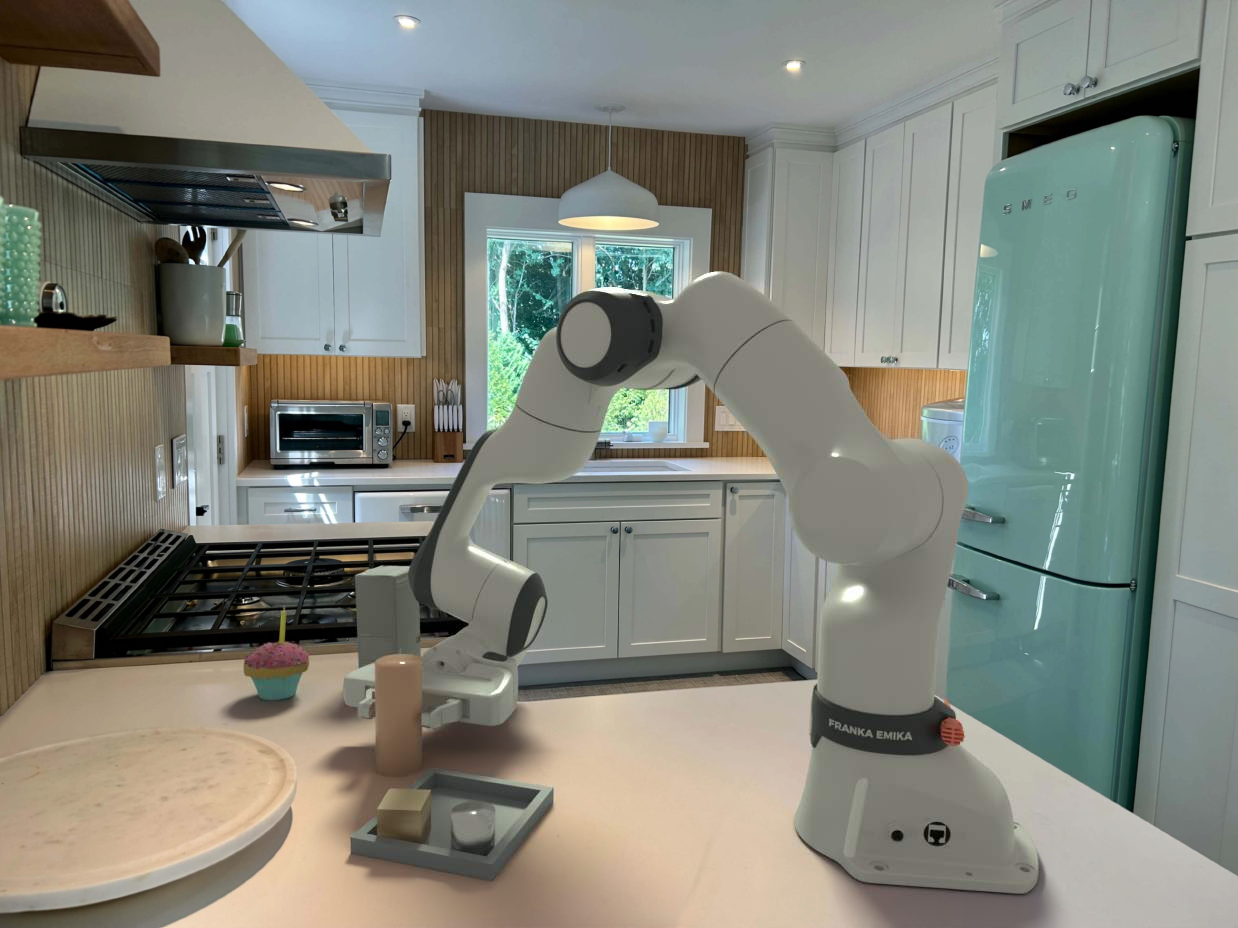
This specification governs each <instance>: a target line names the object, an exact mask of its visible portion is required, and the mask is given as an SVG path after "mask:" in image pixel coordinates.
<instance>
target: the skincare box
mask: <svg viewBox="0 0 1238 928" xmlns="http://www.w3.org/2000/svg"><path fill="white" fill-rule="evenodd" d="M409 567H410V565H409V566H408V565H407V566H406V565H403V566H401V565H400V566H399V565H380V566H377V567H374V568H368V569H366V570H365V571H362V572H361V573H357V574H355V575H354V581H355V582H354V583H355V586H354V587H355V605H356V606H355V609H356V631H357V632H356V634H357V656H358V658H357V660H358V669H359V668H361V667H364V666H366V665H369V664H371V663H375V661H376V660H377V659H379V658H381V657H384V656H388V655H394V654H411V655H416V656H419V657H420V658H421V656H422V652H421V651H422V650H421V649H422V648H421V629H420V627H421V624H420V623H421V620H420V618H421V617H420V616H421V615H420V603H419V602H417V600H416V598H415V596H414V594H413V592H412V589H411V587H410V583H409V579H408V571H409Z"/></svg>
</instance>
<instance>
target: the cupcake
mask: <svg viewBox="0 0 1238 928" xmlns="http://www.w3.org/2000/svg"><path fill="white" fill-rule="evenodd" d="M282 609H283V610H281V612H280V613H281V614H280V622H279V623H280V624H279V625H280V626H279V627H280V628H279V639H278V641H277V642H273V643H272V642H267V643H263V644H261V645H259V646H258V647H257V648H256V649H254V650H252V652H250V653H249V654H248V655H246V657H245V659H244V660H243V661H244V663H243V674H244V676H245V677H248V678H249V677H250V679H251V680H252V682H253V684H254V686H255V690H256V693H257V695H258V697H259V698H260V700H261V699H262V700H265V701H281V700H285V699H288V698H291V697H293V696H294V695H295V694H296V692H297V689H298V686H299V683H300V680H301V677H302V675H303V673H305V672H307V671H308V669H309V667H310V658H309V657H310V652H307V650H306V649H305V648H304V647H302V646H301V645H299V644H295V643H291V642H289V641H285V639H286V638H285V637H286V623H287V622H286V620H287V611H286V605H285V604H284V605H283V608H282Z"/></svg>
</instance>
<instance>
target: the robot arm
mask: <svg viewBox="0 0 1238 928" xmlns="http://www.w3.org/2000/svg"><path fill="white" fill-rule="evenodd" d="M701 380H702V381H703V384H705V385H706V386H707V387H708V389H709V390H710V391H711V392H712V393H713V394H714V396H715V397H716V398H717V399H718V400H719V401H720V402H721V404H722V405H723V406H724V407H725V408H726V409H727V411H728V412H729V413H730V414H731V415H732V416H733V417H734V418H735V420H736V421H737V422H738V423H739V425H741V426H742V428H744V429H745V431H746V432H747V433H748V434H749V436H750V437H751V438H752V439H753V440H754V442H755V443H756V444H757V445H758V447H759V448H760V449H761V451H762V452H763V453H764V455H765V456H766V458H767V459H768V461H769V462H770V464H771V466H772V468H773V470H774V472H775V474H776V475H777V477H778V479H779V481H780V483H781V485H782V487H783V489H784V491H785V494H786V495H787V497H788V500H789V501H788V512H789V513H788V514H789V519H790V523H791V526H792V529H793V531H794V533H795V535H796V537H797V539H798V540H799V541H800V543H801V544H802V546H803V547H805V549H806V550H808V551H809V553H811V554H812V555H814V556H815V557H816V558H819V559H820V560H823V561H826V562H828V563H831V564H837V568H836V569H837V570H836V573H835V575H834V580H833V583H832V585H831V588H830V589H829V593H828V595H827V596H826V598H825V600H824V602H823V605H822V608H821V611H820V616H819V617H820V618H819V639H818V656H817V657H818V658H817V659H818V662H817V677H816V679H817V681H816V683H815V685H814V686H813V690H812V695H811V697H810V705H809V707H810V708H809V728H808V729H809V731H808V732H809V734H808V736H809V735H810V737H809V740H810V744H811V752H810V757H809V763H808V768H807V769H808V770H807V775H806V777H805V778H806V779H805V783H804V787H803V791H802V794H801V798H800V801H799V804H798V807H797V809H796V812H795V814H794V818H793V824H794V828H795V830H796V832H797V834H798V835H799V836H800V838H801V839H802V840H803V841H804V842H805V843H806V844H808V846H810V847H811V848H813V849H814V850H815V851H817V852H819V853H821V854H822V855H825V857H828V858H830V859H832V860H833V861H835V862H837V863H838V864H839V865H840V866H841V867H842V868H843V869H844V870H845V871H846V872H847V873H848V874H850V876H852V877H853V878H855V879H856V880H858V881H860V882H862V883H863V882H864V883H868V884H882V885H884V884H885V885H893V886H895V885H896V886H897V885H898V886H906V887H907V886H909V887H924V888H935V889H936V888H937V889H951V890H963V891H964V890H965V891H977V892H993V893H1003V894H1005V893H1008V894H1027V893H1029V892H1030V891H1031V890H1033V889H1034V887H1035V886H1036V884H1037V883H1038V879H1039V877H1040V875H1039V874H1040V870H1039V869H1040V868H1039V867H1040V865H1039V863H1040V862H1039V855H1038V852H1037V848H1036V845H1035V843H1034V841H1033V839H1032V837H1031V836H1030V834H1029V832H1028V831H1027V830H1026V829H1025V827H1024V826H1022V824H1021V823H1020V822H1018V821H1017V820H1016V819H1015V818H1014V815H1013V811H1012V807H1011V806H1012V805H1011V801H1010V799H1009V796H1008V794H1007V793H1008V792H1007V791H1006V789H1005V788H1004V785H1003V783H1002V782H1001V780H1000V779H999V778H998V776H997V775H996V774H995V773H994V771H993V770H991V769H990V768H989V767H987V766H986V765H985V764H984V763H983V762H981V760H979V758H977V757H975V756H974V755H973V754H972V753H971V752H969V751H968V750H967V749H966V748H965V747H964V746H962V745H961V743H963V742H964V741H965V740H964V739H965V732H964V727H963V724H962V723H961V722H960V721H959V720H958V719H957V717H956V712H955V710H954V709H952V707H951V704H950V703H949V701H948V699H946V698H944V701H943V700H941V699H939V698H938V697H936V696H935V694H936V693H935V692H936V679H937V678H936V677H937V666H938V664H937V663H938V662H937V661H938V652H939V651H938V649H939V647H938V646H939V635H940V625H941V618H942V613H943V606H944V602H945V597H946V593H947V589H948V584H949V580H950V576H951V572H952V569H953V568H952V566H953V562H954V558H955V551H956V547H957V541H958V535H959V530H960V524H961V520H962V516H963V513H964V510H965V508H966V506H967V502H968V498H969V482H968V479H967V475H966V472H965V470H964V468H963V466H962V465H961V463H960V462H959V461H958V459H956V458H955V456H953V454H951V453H949V452H948V451H946V450H945V449H944V448H942V447H940V446H938V445H936V444H934V443H932V442H929V441H927V440H924V439H919V438H912V437H909V438H908V437H904V438H896V439H890V438H888V437H887V436H886V435H884V434H883V433H882V432H881V431H880V430H879V429H878V428H877V427H876V426H875V424H873V422H872V421H871V419H870V418H869V417H868V415H867V413H866V412H865V411H864V409H863V408H862V406H861V404H860V402H859V401H858V399H857V398H856V396H855V394H854V392H853V391H852V389H851V386H850V385H851V384H850V380H849V378H848V376H847V374H846V373H845V372H844V371H843V370H842V368H841V367H839V365H838V364H836V362H835V361H834V360H832V358H830V356H829V355H827V353H826V352H825V351H824V350H823V349H822V348H821V347H820V346H819V345H818V344H817V343H816V342H815V341H814V340H813V339H812V338H811V337H810V336H809V335H808V334H807V333H806V331H804V330H803V329H802V328H801V327H800V326H799V325H798V324H797V323H796V322H795V320H793V319H792V318H791V317H790V316H789V315H788V314H787V313H786V312H785V311H784V310H783V309H782V308H780V307H779V306H778V305H777V304H776V303H775V302H774V301H772V300H771V299H770V298H768V297H767V296H766V295H765V294H763V293H762V292H761V291H760V290H758V289H756V288H755V287H754V286H753V285H751V284H750V283H748V282H747V281H745V280H744V279H742V278H741V277H739V276H737V275H735V274H734V273H731V272H727V271H713V272H707V273H705V274H703V275H700V276H699V277H697V278H695V279H694V280H692V281H691V282H690V283H688V285H686V287H684V288H683V290H682V291H681V292H680V293H679V294H678V295H677V296H676V297H674V298H671V297H667V296H666V295H661V294H657V293H655V292H651V291H647V290H646V291H645V290H639V289H625V288H622V287H617V286H616V287H615V286H614V287H613V286H606V287H598V288H592V289H589V290H586V291H583V292H581V293H579V294H577V295H575V296H573V297H572V298H571V299H570V300H569V301H568V302H567V304H566V305H565V306H564V308H563V310H562V312H561V313H560V316H559V318H558V321H557V325H556V326H555V327H553V328H551V329H549V330H548V331H547V332H546V333H545V334H544V335H543V337H542V339H541V340H540V342H539V344H538V345H537V347H536V350H535V351H534V353H533V356H532V358H531V359H530V362H529V363H528V366H527V369H526V372H525V374H524V375H523V379H522V381H521V384H520V387H519V390H518V392H517V393H518V394H517V397H516V399H515V402H514V405H513V409H512V411H511V412H510V414H509V416H508V417H507V419H506V421H504V423H503V424H502V425H501V426H500V427H498V428H495V429H494V428H493V429H489V430H487V431H485V432H484V433H483V434H482V435H481V436H480V437H479V438H478V439H477V441H476V442H475V444H474V445H473V446H472V448H471V449H470V450H469V453H468V454H467V456H466V458H465V460H464V462H463V464H462V465H461V468H460V470H459V471H458V473H457V475H456V477H455V478H454V479H455V480H454V481H453V484H452V485H451V488H450V490H449V491H448V494H447V496H446V498H445V500H444V502H443V505H442V506H441V508H440V510H439V512H438V514H437V516H436V518H435V521H434V523H433V525H432V526H431V529H430V531H429V532H428V533H427V535H426V537H425V539H424V540H423V542H422V543H421V545H420V547H419V548H418V550H417V552H416V553H415V555H414V556H413V558H412V560H411V562H410V565H409V566H410V567H409V571H408V579H409V583H410V587H411V589H412V592H413V594H414V596H415V598H416V600H417V602H419V605H420V604H421V605H423V606H426V607H428V608H431V609H434V610H436V611H440V612H444V613H446V614H449V615H450V616H453V617H454V618H457V619H459V620H460V621H463V622H465V623H467V624H468V625H467V626H465V627H463V628H462V629H461V630H459V631H458V632H457V633H456V634H454V635H451V636H449V637H447V638H445V639H443V640H442V641H440V642H439V643H437V644H436V645H434V646H432V647H431V648H428V649H427V650H426V651H425V652H424V653H423V654H421V659H422V715H421V719H422V722H421V725H422V728H425V729H433V730H436V729H437V728H439V726H441V725H445V724H451V723H454V722H460V723H467V724H473V725H479V726H486V727H494V726H499V725H501V724H503V723H505V722H506V721H507V719H509V717H510V716H511V715H512V714H513V712H514V711H515V710H516V709H517V705H518V694H519V673H518V672H519V671H518V670H519V669H518V666H519V665H520V664H521V662H522V661H523V660H524V657H525V655H526V653H527V651H528V648H529V647H530V646H531V645H532V644H533V643H534V641H535V640H536V638H537V637H538V634H539V632H540V631H541V628H542V626H543V622H544V620H545V617H546V614H547V610H548V609H547V608H548V597H547V592H546V591H547V590H546V587H545V584H544V582H543V579H542V577H541V576H540V574H539V573H538V572H535V571H534V570H531V569H529V568H527V567H525V566H523V565H521V564H519V563H516V562H514V561H512V560H510V559H508V558H505V557H502V556H500V555H498V554H497V553H496V554H495V553H494V552H492V551H489V550H487V549H485V548H483V547H481V546H479V545H477V544H476V543H474V542H473V540H472V538H471V534H470V532H471V530H472V528H473V526H474V525H475V522H476V520H477V518H478V516H479V514H480V512H481V510H482V508H483V506H484V504H485V502H486V501H487V498H488V496H489V494H490V492H491V490H492V489H493V488H494V487H495V486H496V485H499V484H530V485H531V484H532V485H533V484H534V485H538V484H539V485H541V484H549V483H550V484H551V483H555V482H556V483H557V482H560V481H563V480H567V479H569V478H571V477H573V476H575V475H577V473H580V471H582V469H584V467H586V466H587V464H588V463H589V461H590V459H591V457H592V455H593V454H594V451H595V449H596V446H597V444H598V441H599V438H600V436H601V432H602V429H603V427H604V426H603V425H604V423H605V419H606V416H607V413H608V410H609V406H610V405H611V404H610V403H611V401H612V400H613V398H614V397H615V394H617V393H618V392H619V391H620V390H621V389H623V388H624V389H630V390H631V389H632V390H637V391H655V390H656V391H657V390H668V391H670V390H672V391H673V390H679V389H683V388H686V387H687V388H688V387H689V386H692V385H694V384H697V383H698V382H700V381H701ZM342 687H343V691H342V693H343V700H344V703H345V705H347V707H348V706H349V707H356V708H357V717H358V718H359V719H363V720H364V719H366V720H373V718H375V663H371V664H369V665H366V666H364V667H361V668H359V667H358V668H357V669H354V670H352V671H350V672H348V673H347V674H346V675H345V676H344V677H343V686H342Z"/></svg>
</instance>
